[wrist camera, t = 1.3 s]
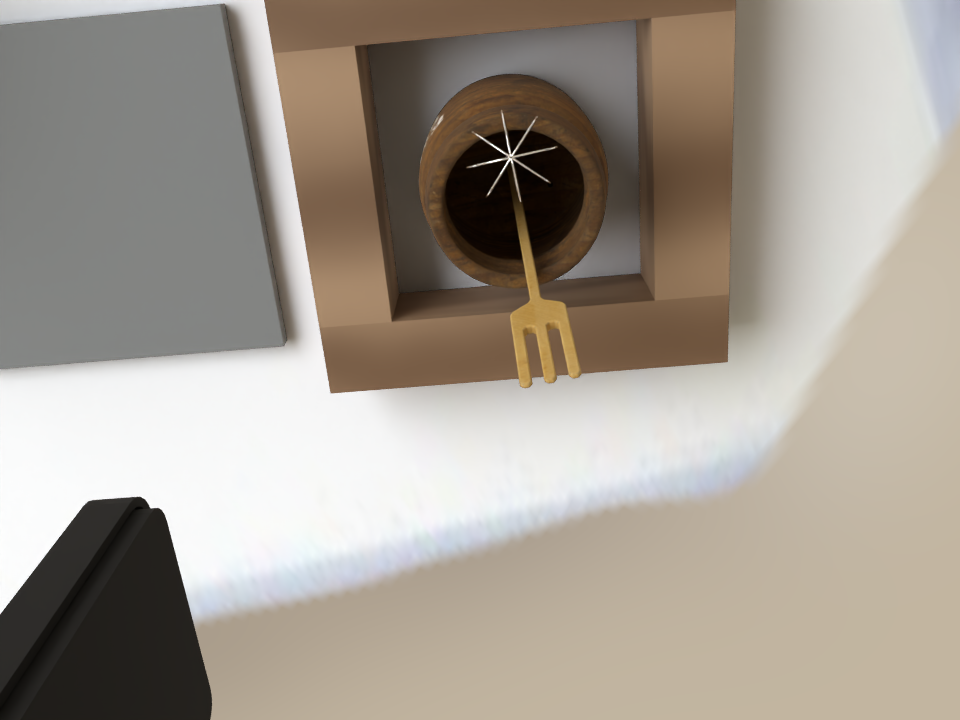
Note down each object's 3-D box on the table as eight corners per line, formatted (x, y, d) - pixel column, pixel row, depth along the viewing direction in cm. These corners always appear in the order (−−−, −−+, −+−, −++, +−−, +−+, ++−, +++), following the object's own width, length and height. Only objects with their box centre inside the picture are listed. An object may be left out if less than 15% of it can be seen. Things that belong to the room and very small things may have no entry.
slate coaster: (-129, 37, 30) (-141, 38, 30) (224, 3, 30) (219, 4, 29) (-20, 364, 35) (-28, 371, 34) (287, 340, 34) (283, 346, 34)
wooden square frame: (279, -36, 29) (258, -37, 26) (713, -78, 29) (737, -83, 26) (342, 360, 35) (330, 393, 32) (707, 330, 34) (727, 362, 31)
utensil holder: (576, 50, 30) (631, 95, 19) (608, 229, 33) (672, 359, 22) (406, 91, 31) (364, 156, 20) (449, 263, 33) (433, 407, 22)
